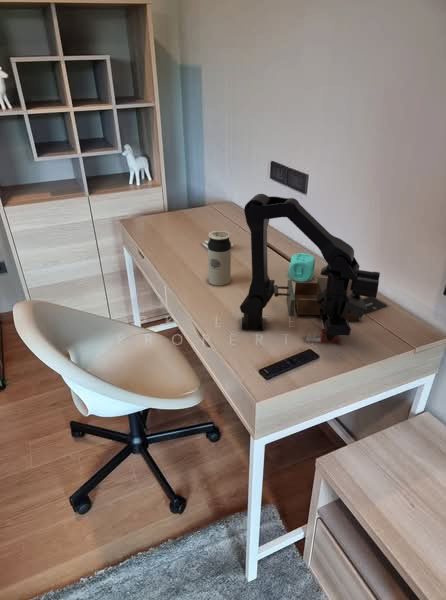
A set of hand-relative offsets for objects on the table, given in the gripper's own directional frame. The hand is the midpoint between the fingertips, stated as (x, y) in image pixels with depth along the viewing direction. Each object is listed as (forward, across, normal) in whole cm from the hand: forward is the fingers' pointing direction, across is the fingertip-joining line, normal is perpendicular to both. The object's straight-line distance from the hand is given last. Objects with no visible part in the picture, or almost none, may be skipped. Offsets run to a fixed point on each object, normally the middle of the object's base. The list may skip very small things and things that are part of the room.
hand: (329, 337), depth 123 cm
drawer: (0, +18, +8) cm, 20 cm away
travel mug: (+1, +35, +34) cm, 49 cm away
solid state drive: (+2, +21, -16) cm, 27 cm away
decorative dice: (+1, +40, +4) cm, 40 cm away
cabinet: (+1, +18, -5) cm, 19 cm away
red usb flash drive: (+1, 0, +2) cm, 2 cm away
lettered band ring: (+1, +64, +35) cm, 73 cm away
